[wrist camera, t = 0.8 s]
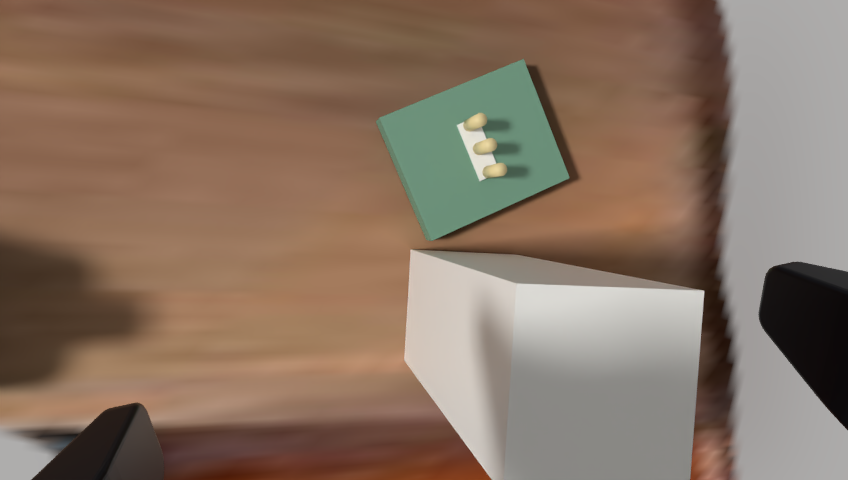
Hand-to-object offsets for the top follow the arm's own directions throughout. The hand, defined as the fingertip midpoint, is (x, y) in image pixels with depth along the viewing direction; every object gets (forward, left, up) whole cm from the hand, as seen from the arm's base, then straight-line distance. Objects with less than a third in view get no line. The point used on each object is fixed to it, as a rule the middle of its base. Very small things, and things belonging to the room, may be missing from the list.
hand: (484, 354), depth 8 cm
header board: (+2, -6, -16) cm, 17 cm away
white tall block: (-4, -3, -16) cm, 17 cm away
